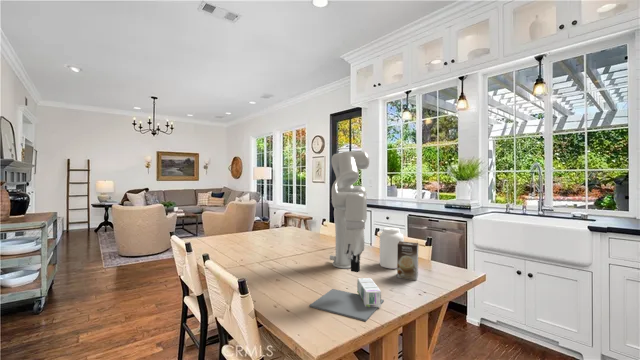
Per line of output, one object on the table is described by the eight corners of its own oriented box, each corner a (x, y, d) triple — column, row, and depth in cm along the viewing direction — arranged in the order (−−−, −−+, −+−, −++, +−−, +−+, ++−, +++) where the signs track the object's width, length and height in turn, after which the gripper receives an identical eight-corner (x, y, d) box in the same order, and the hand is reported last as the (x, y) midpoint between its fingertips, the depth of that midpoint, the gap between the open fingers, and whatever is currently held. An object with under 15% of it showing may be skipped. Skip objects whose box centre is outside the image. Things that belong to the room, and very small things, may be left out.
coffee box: (396, 277, 138) (396, 243, 138) (399, 273, 144) (398, 241, 144) (417, 280, 135) (417, 245, 134) (418, 276, 140) (418, 242, 140)
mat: (309, 306, 108) (309, 304, 108) (332, 290, 124) (332, 288, 124) (366, 321, 97) (366, 319, 97) (383, 301, 112) (383, 299, 112)
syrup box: (357, 277, 120) (365, 291, 106) (371, 277, 120) (381, 291, 106) (357, 291, 120) (365, 307, 106) (371, 291, 120) (381, 307, 106)
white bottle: (406, 264, 159) (406, 227, 159) (399, 270, 149) (399, 231, 149) (384, 260, 166) (384, 225, 166) (376, 266, 156) (376, 228, 155)
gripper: (354, 221, 124) (354, 265, 125) (338, 226, 112) (338, 275, 112) (370, 222, 121) (371, 267, 121) (356, 228, 108) (356, 278, 108)
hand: (355, 271), depth 116 cm, fingers closed
